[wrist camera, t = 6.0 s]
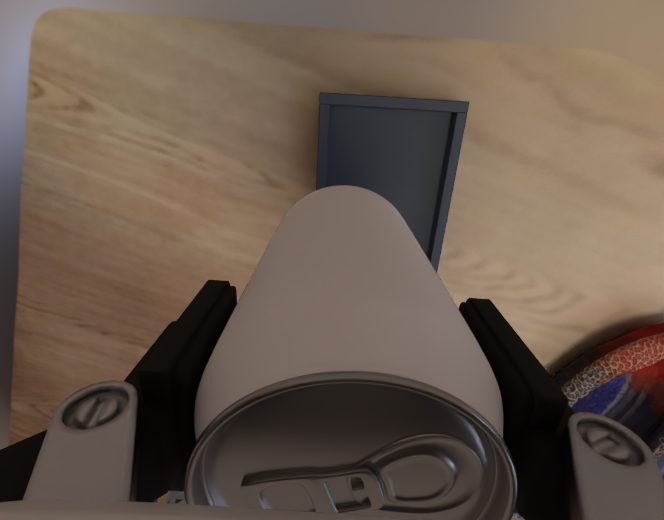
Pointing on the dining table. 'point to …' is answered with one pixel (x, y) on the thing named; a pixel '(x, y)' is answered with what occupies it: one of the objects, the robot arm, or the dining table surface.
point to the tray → (395, 155)
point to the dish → (622, 384)
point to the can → (350, 380)
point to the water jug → (661, 464)
